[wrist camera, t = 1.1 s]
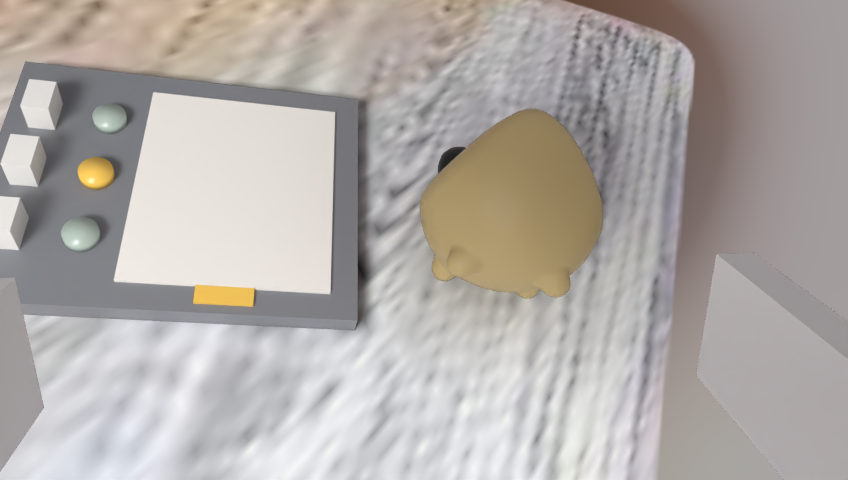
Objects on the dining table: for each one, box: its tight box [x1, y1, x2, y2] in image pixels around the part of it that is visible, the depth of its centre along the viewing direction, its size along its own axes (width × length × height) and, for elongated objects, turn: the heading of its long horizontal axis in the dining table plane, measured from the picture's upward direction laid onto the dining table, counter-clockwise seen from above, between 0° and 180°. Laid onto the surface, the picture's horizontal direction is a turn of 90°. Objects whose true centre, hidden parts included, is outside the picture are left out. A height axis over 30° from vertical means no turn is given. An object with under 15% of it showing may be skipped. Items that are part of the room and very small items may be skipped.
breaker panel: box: [0, 62, 358, 330], centre depth 40 cm, size 16×20×3 cm
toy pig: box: [420, 109, 603, 298], centre depth 40 cm, size 10×12×11 cm
